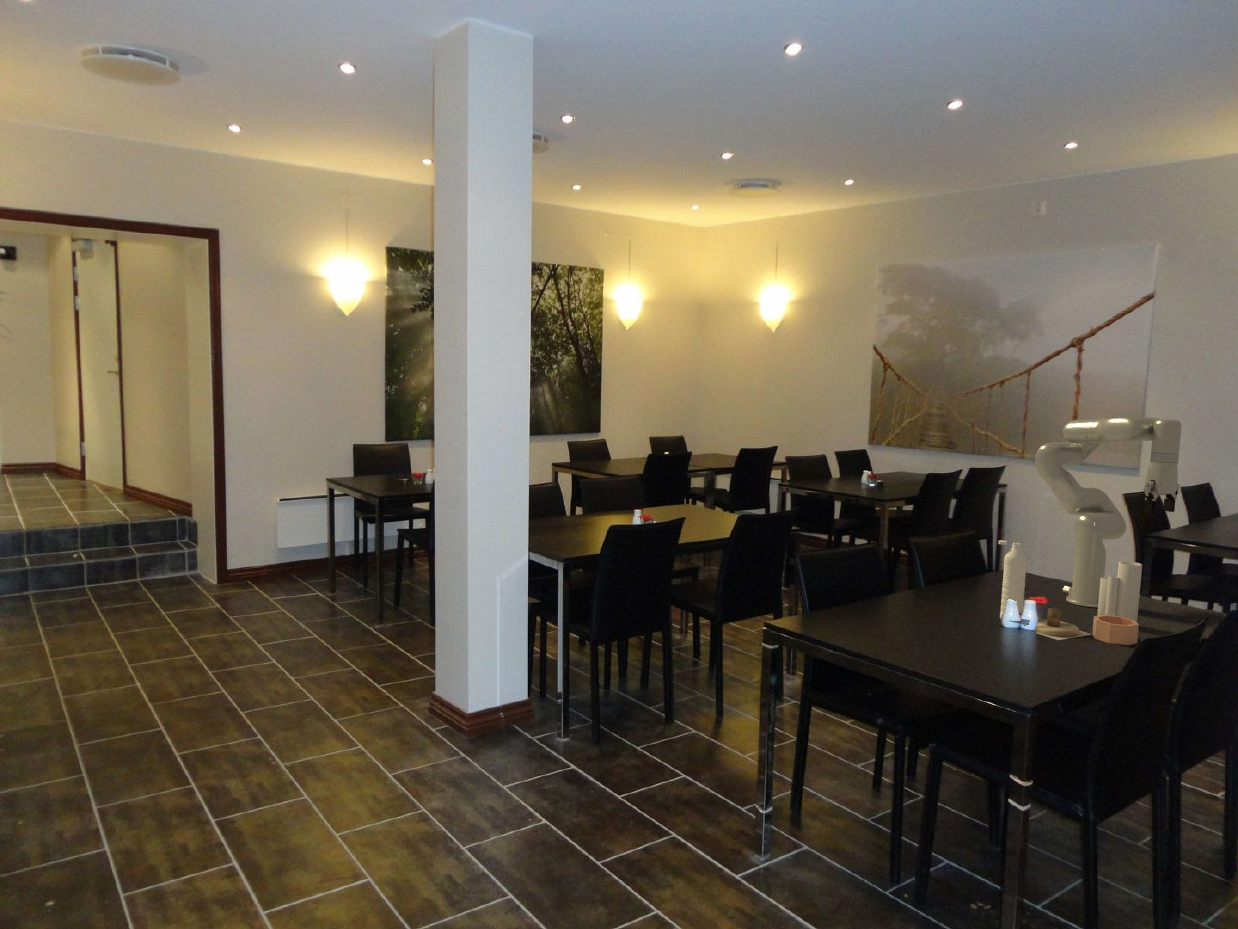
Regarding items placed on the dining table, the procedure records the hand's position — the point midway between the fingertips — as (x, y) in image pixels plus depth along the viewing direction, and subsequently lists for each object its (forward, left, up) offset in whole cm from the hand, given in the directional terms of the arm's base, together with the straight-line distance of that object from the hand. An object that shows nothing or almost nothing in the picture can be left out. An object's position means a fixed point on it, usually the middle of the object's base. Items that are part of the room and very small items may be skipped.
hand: (1159, 512), depth 276 cm
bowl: (+8, -30, -36) cm, 47 cm away
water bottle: (-20, -42, -36) cm, 58 cm away
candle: (-3, -13, -36) cm, 38 cm away
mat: (-5, -40, -36) cm, 54 cm away
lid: (-5, -40, -35) cm, 53 cm away
